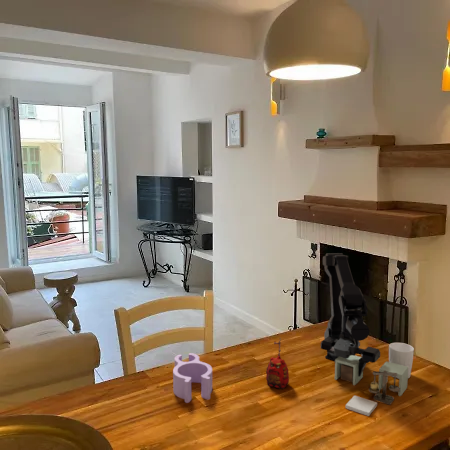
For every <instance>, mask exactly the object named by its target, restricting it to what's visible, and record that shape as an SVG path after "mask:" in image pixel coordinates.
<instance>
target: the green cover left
mask: <svg viewBox="0 0 450 450" xmlns="http://www.w3.org/2000/svg"><path fill="white" fill-rule="evenodd" d="M361 357H362V356H357V355H355V356H354V355H351V356H350V357H349V358H347V359H345V358H343V357H338V358H337V359H335V362H334V380H335V381H336V380H338V379H339V378H341V365H342V364H345V365H348V366H352V367H353V382H352V385H353V386H356V385H357V384H358V383H359V382H360V381H361V379H363V377H364V376H363V375H364V371H363V372H362V374H361V376H360V377H359V376H358V371H359V359H360V358H361Z"/></svg>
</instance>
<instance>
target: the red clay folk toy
mask: <svg viewBox="0 0 450 450" xmlns="http://www.w3.org/2000/svg"><path fill="white" fill-rule="evenodd" d="M281 341H282V338H281V337H279V340H278V342H277V341H276V340H275V341H274V342H273V344H274V345H278V353H277V357H273V356H272V357H270V359H269V363H268V365H267V366H266V371H265V373H266V375H265V376H266V377H265V379H266V383H267V385H268V386H269V387H272V388H276V389H279V390H280V389H281V390H283V389H286V387H287V386H288V384H289V383H290V378H289V377H290V376H289V373H290V372H289V368H288V366H287V363H286V362H285V360H284V359H282V357H281V352H282V351H281V343H282V342H281Z"/></svg>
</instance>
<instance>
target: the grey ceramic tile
mask: <svg viewBox="0 0 450 450" xmlns="http://www.w3.org/2000/svg"><path fill="white" fill-rule="evenodd" d="M377 406H378V401H375V400H370V399H367V398H364V397H360V396H358V395H353V396H352V398H350V399H349V401H348V402H347V403H346V404H345V409H347V410H348V411H349V410H350V411H352V412H355V413H359V414H361V415H365V416H367V417H369V416H370V415H371V414H372V412H374V410H375V409H376V408H377Z"/></svg>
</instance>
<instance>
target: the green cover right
mask: <svg viewBox="0 0 450 450" xmlns="http://www.w3.org/2000/svg"><path fill="white" fill-rule="evenodd" d="M383 371H386V372H390V373H397V376H398V377H399V380H398V387H399V388H400V391H399V392H398V396H399V397H401V396H403V393H404V392H405V391H406V390H407V389H408V379H409V378H408V367H407V366H403V365H399V364H395V363H391V362H389V361H387V360H386V361H385V362H384V363H383V364H382V365H381V366H380V367H379V369H378V372H383ZM388 379H389V376H387V382H388ZM382 381H383V375H378V389H379V390H380V391H382Z"/></svg>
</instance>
